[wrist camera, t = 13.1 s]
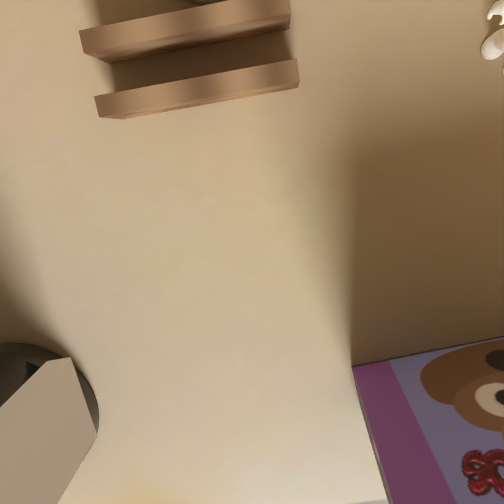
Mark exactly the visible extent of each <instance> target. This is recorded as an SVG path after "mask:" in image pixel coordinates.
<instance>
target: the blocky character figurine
mask: <svg viewBox="0 0 504 504" xmlns="http://www.w3.org/2000/svg"><path fill="white" fill-rule="evenodd" d="M492 15H501V17H502V20H501V22H500V23H499V25H503V24H504V0H500V1H497V2H495V3H494V4H493V6H492V7H491V8H490V11H489V12H488V14H487V19H488V20H489V19H491V18H492ZM503 52H504V28H503V29H500V30H498V31H496V32H494V33H493V34H492V35H491V36H490V37H488V38H487V39H486V41H485V42H484V43H483V45H482V47H481V55H482V57H483V58H484V59H486V60H493V59H496V58H497V57H499V56H500V55H501V54H502V53H503ZM503 76H504V68H503Z"/></svg>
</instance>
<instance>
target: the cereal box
mask: <svg viewBox="0 0 504 504" xmlns="http://www.w3.org/2000/svg"><path fill="white" fill-rule="evenodd" d="M352 370H353V375H354V379H355V384H356V388H357V392H358V397H359V401H360V406H361V410H362V413H363V417H364V420H365V424H366V427H367V431H368V434H369V437H370V441H371V444H372V448H373V451H374V454H375V458H376V461H377V465H378V468H379V472H380V475H381V478H382V482H383V485H384V489H385V492H386V496H387V499H388V502H389V504H504V336H502V337H497V338H492V339H487V340H482V341H477V342H472V343H467V344H462V345H456V346H451V347H446V348H441V349H436V350H431V351H426V352H421V353H416V354H411V355H406V356H401V357H396V358H391V359H386V360H381V361H376V362H371V363H366V364H361V365H356V366H352Z"/></svg>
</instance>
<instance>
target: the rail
mask: <svg viewBox="0 0 504 504" xmlns="http://www.w3.org/2000/svg"><path fill="white" fill-rule="evenodd" d="M290 13H291V12H290V4H289V0H228V1H223V2H218V3H213V4H208V5H203V6H198V7H193V8H188V9H183V10H179V11H174V12H169V13H164V14H159V15H154V16H149V17H144V18H139V19H134V20H129V21H124V22H119V23H114V24H109V25H104V26H100V27H95V28H90V29H85V30H80V31H79V34H80V39H81V43H82V47H83V51H84V53H85V54H87V55H90V56H92V57H95V58H97V59H100V60H102V61H104V62H107V63H114V62H119V61H124V60H130V59H135V58H140V57H145V56H150V55H155V54H161V53H166V52H171V51H176V50H181V49H186V48H192V47H197V46H202V45H207V44H212V43H217V42H223V41H228V40H233V39H238V38H243V37H248V36H254V35H259V34H264V33H269V32H274V31H279V30H285V29H289V25H290Z"/></svg>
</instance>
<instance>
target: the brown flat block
mask: <svg viewBox="0 0 504 504" xmlns="http://www.w3.org/2000/svg"><path fill="white" fill-rule="evenodd" d="M299 81H300V80H299V73H298V65H297V59H291V60H286V61H281V62H275V63H270V64H265V65H259V66H254V67H249V68H243V69H238V70H233V71H227V72H222V73H216V74H211V75H206V76H200V77H195V78H190V79H184V80H179V81H174V82H168V83H163V84H157V85H152V86H147V87H141V88H136V89H131V90H125V91H120V92H115V93H109V94H104V95H99V96H94V98H95V102H96V106H97V110H98V115H99V117H102V118H113V119H126V118H132V117H137V116H143V115H149V114H154V113H160V112H165V111H171V110H176V109H182V108H187V107H193V106H199V105H204V104H210V103H215V102H221V101H226V100H232V99H237V98H243V97H248V96H254V95H260V94H265V93H271V92H276V91H282V90H287V89H293V88H297V87H298V84H299Z"/></svg>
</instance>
